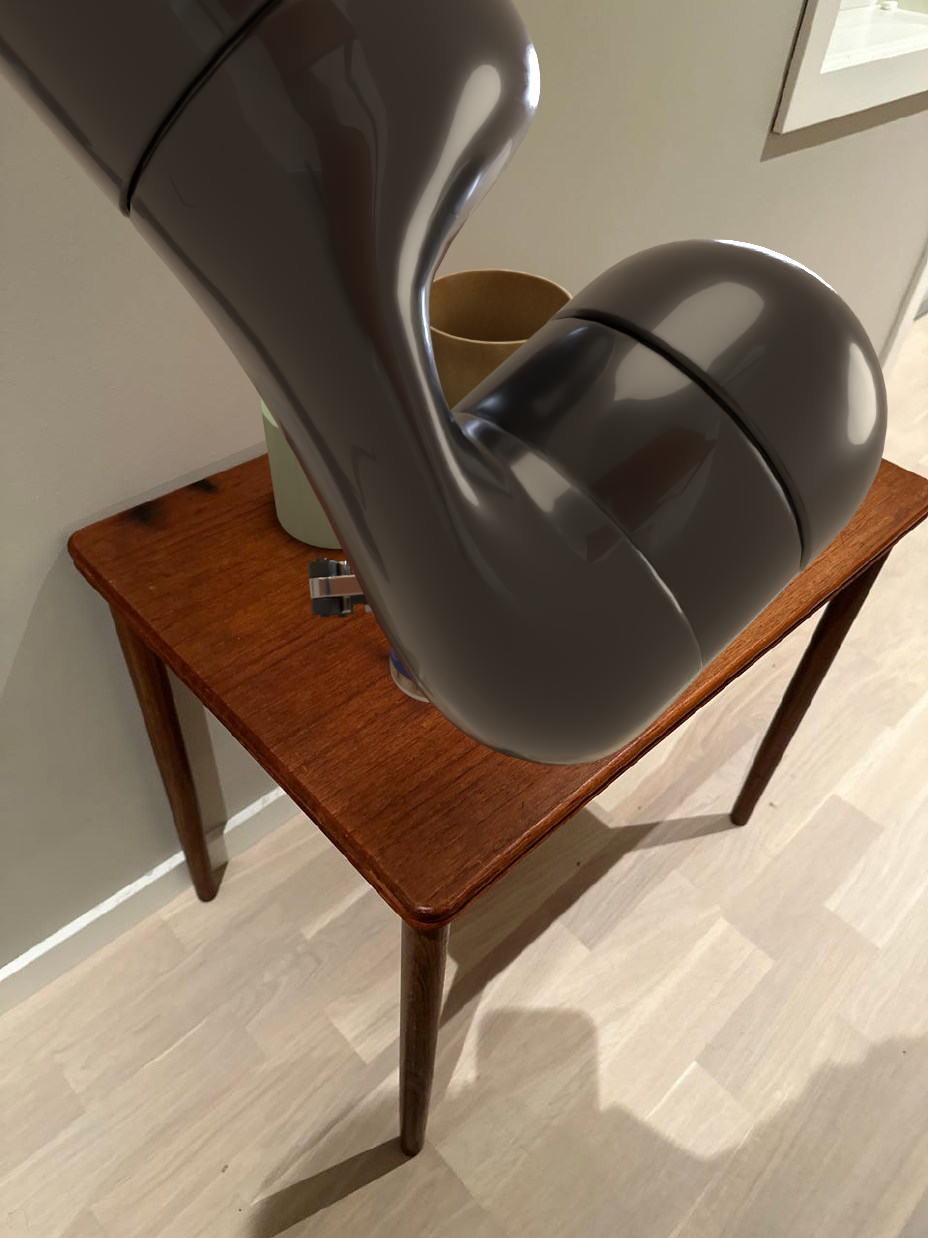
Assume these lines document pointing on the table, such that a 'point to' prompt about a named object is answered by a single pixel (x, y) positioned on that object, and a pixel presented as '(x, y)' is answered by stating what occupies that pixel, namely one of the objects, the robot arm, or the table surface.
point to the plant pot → (485, 322)
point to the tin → (295, 491)
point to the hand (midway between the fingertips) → (434, 587)
